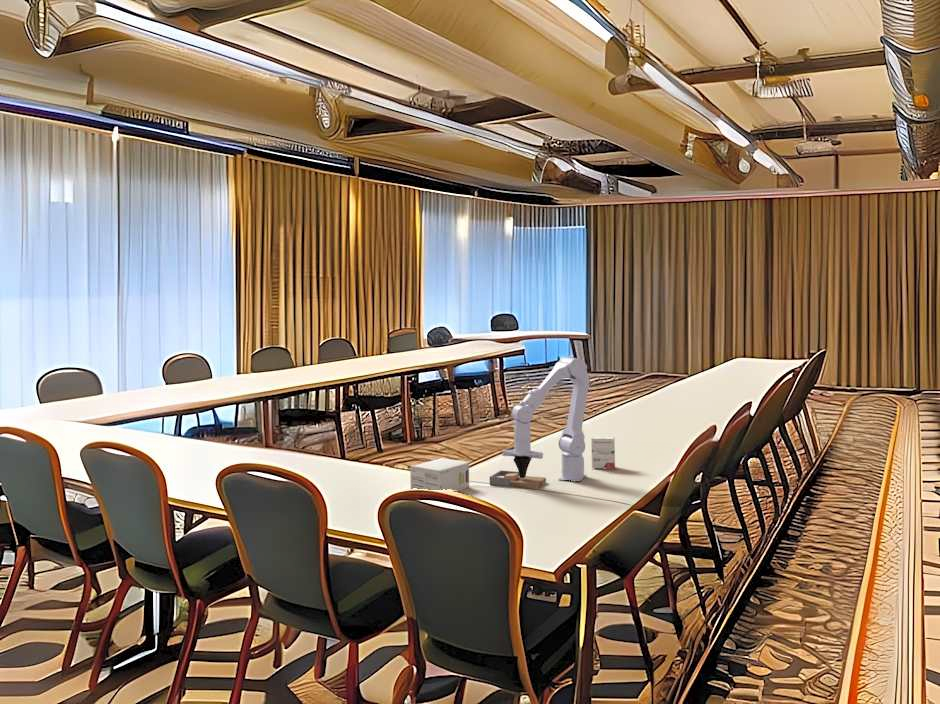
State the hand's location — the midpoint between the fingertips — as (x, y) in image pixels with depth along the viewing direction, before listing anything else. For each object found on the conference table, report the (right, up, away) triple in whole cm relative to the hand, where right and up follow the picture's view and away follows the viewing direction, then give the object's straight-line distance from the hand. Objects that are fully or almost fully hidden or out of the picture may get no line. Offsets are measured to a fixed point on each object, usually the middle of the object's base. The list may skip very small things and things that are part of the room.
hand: (522, 477), depth 301 cm
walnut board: (+2, -3, 0) cm, 3 cm away
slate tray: (-6, -2, +4) cm, 7 cm away
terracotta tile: (-4, -1, +2) cm, 4 cm away
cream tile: (-8, -2, +3) cm, 9 cm away
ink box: (+32, 0, +24) cm, 40 cm away
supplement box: (-29, -4, -4) cm, 30 cm away
